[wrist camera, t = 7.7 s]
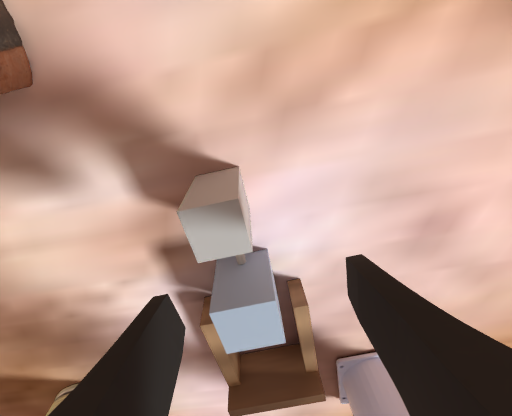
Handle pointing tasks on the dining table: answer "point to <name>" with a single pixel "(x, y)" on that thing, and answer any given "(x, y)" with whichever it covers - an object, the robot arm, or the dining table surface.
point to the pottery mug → (12, 56)
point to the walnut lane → (270, 366)
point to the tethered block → (232, 262)
